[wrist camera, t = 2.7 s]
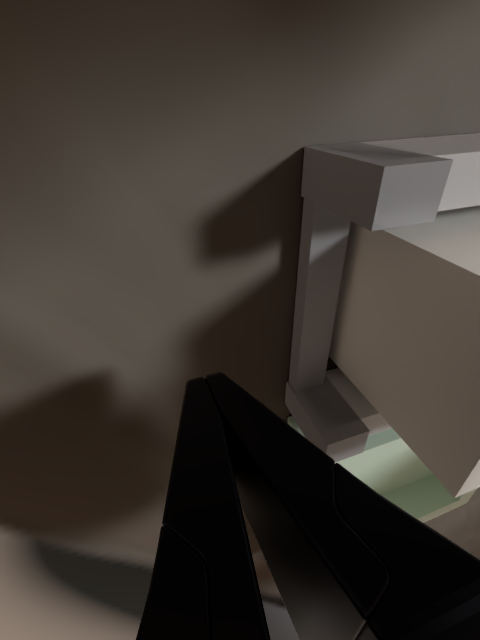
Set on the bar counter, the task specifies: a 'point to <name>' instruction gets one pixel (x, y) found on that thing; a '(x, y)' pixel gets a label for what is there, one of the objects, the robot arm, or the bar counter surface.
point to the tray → (399, 476)
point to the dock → (329, 253)
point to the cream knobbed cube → (418, 336)
